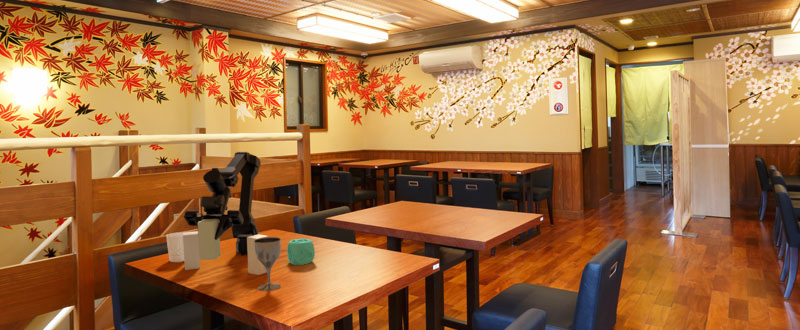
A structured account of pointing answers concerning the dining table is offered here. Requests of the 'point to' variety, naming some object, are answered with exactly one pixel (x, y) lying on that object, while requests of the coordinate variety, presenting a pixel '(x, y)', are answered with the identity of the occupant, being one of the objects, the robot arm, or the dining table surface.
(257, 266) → the cream block
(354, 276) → the dining table surface
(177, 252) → the white cup
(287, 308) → the dining table surface
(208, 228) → the sage block
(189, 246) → the pale pink tall block
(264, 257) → the wine glass
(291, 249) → the decorative dice
